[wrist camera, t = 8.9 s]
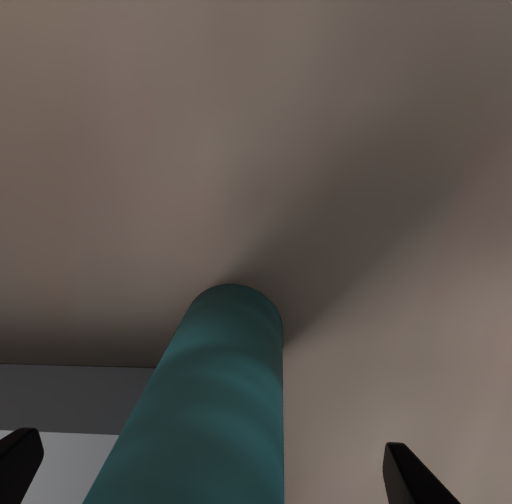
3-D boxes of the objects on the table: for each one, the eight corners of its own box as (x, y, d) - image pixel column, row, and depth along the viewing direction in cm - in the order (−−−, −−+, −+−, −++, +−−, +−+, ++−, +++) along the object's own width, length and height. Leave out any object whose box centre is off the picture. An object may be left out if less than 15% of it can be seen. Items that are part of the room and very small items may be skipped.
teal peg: (282, 284, 13) (285, 487, 5) (281, 371, 14) (284, 635, 7) (180, 283, 13) (47, 475, 6) (189, 368, 14) (90, 618, 7)
